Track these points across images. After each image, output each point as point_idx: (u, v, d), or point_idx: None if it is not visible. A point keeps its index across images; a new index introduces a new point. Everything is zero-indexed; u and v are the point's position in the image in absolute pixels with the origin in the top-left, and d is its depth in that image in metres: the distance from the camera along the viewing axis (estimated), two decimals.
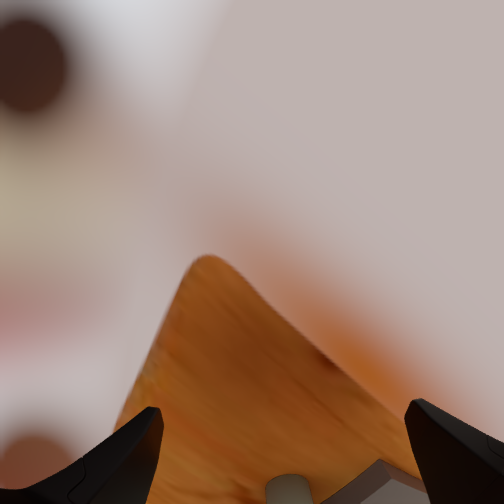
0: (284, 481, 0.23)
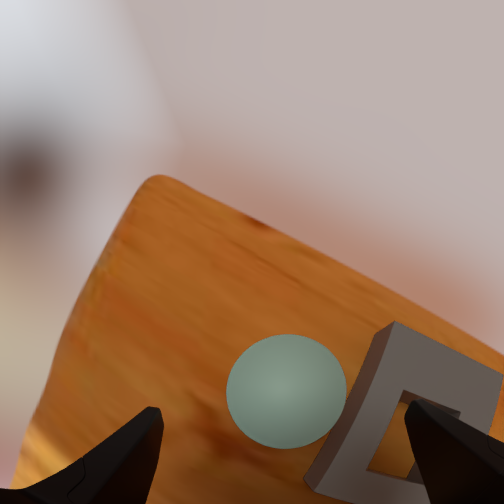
0: None
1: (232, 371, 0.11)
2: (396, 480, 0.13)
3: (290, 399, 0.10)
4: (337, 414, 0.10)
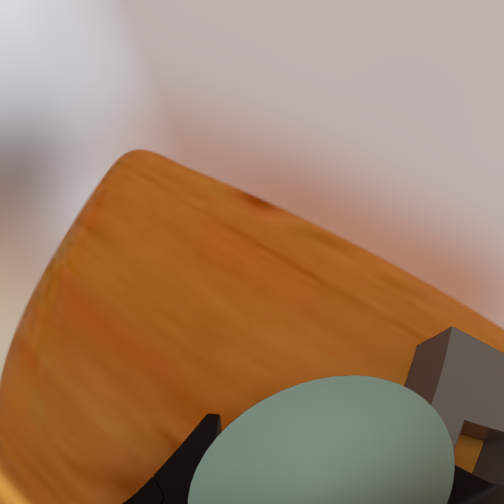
0: None
1: (200, 469, 0.03)
2: None
3: None
4: None
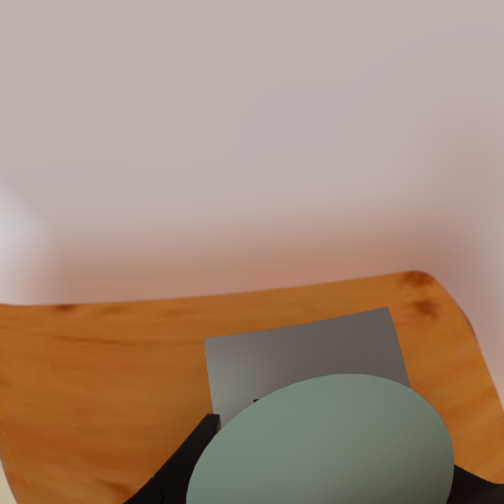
0: None
1: (199, 467, 0.03)
2: None
3: None
4: None
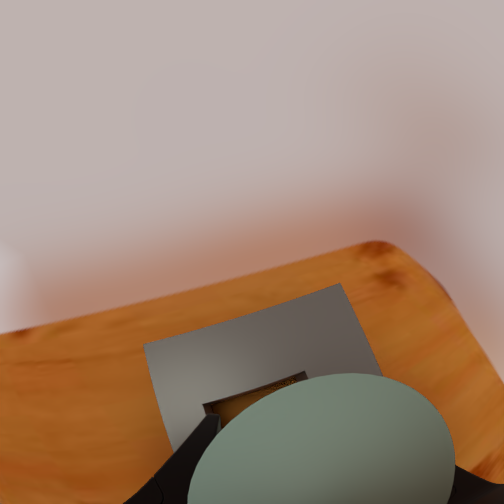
0: None
1: (200, 467, 0.03)
2: None
3: None
4: None
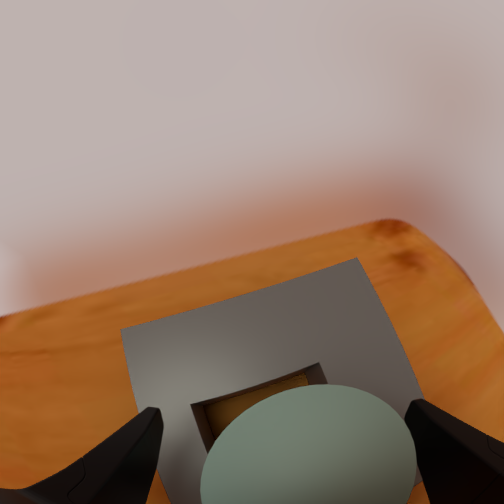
0: None
1: (210, 455, 0.05)
2: None
3: (321, 499, 0.04)
4: None
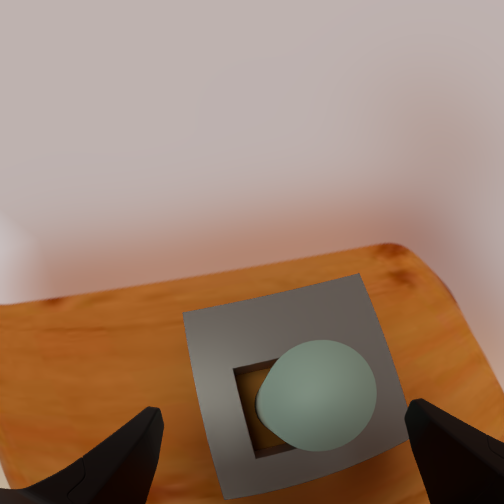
0: None
1: (270, 373, 0.11)
2: (300, 449, 0.15)
3: (324, 403, 0.10)
4: (366, 419, 0.10)
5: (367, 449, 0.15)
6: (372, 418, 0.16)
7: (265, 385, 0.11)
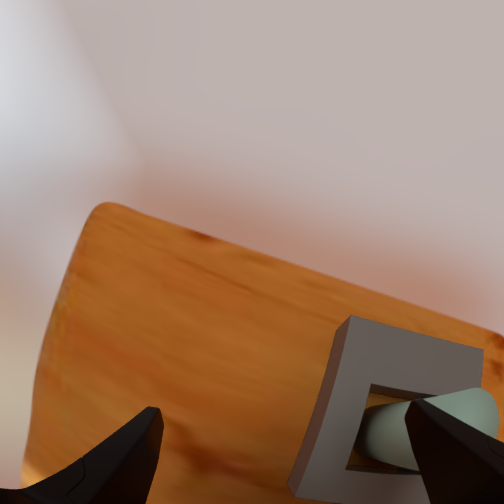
0: None
1: (452, 402, 0.09)
2: (381, 475, 0.14)
3: None
4: None
5: (420, 497, 0.12)
6: None
7: (446, 410, 0.09)
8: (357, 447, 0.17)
